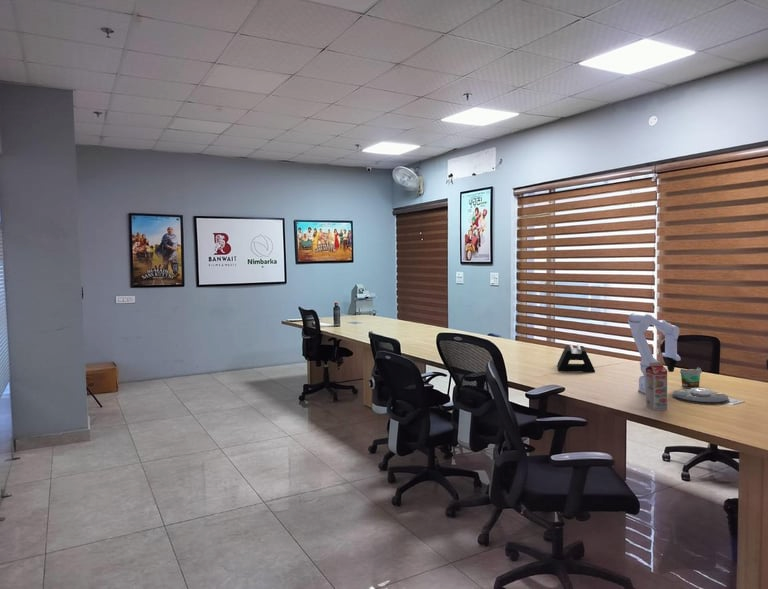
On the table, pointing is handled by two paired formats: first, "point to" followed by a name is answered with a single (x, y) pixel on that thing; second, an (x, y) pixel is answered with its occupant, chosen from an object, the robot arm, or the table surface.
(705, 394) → the cover
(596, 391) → the table surface
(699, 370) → the food container
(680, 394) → the turntable
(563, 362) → the device stand
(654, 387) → the juice carton
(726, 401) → the turntable base
